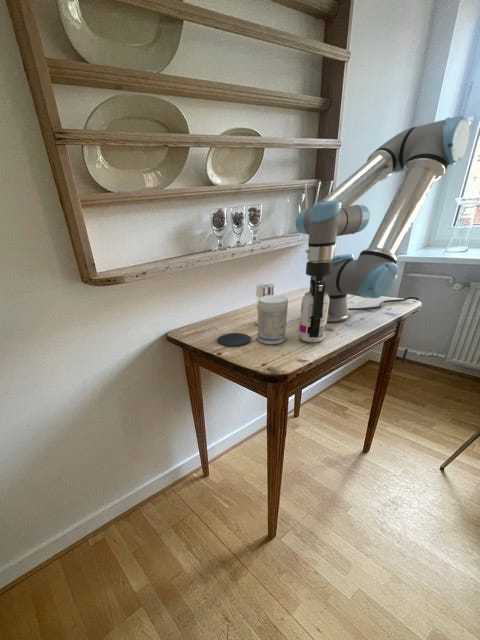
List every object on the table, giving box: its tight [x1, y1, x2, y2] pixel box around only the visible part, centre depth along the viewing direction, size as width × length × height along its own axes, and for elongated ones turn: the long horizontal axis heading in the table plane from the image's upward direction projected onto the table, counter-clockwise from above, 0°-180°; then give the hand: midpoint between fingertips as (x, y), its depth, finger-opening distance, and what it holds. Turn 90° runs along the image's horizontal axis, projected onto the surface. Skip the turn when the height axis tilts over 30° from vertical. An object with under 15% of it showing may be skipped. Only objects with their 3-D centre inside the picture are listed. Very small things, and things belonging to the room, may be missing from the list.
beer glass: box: [255, 283, 275, 326], centre depth 117 cm, size 7×7×15 cm
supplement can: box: [298, 291, 330, 343], centre depth 99 cm, size 8×8×15 cm
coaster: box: [217, 332, 252, 347], centre depth 109 cm, size 12×12×1 cm
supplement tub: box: [257, 294, 289, 345], centre depth 102 cm, size 10×10×15 cm
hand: (312, 331), depth 101 cm, fingers closed on supplement can, 8 cm apart
